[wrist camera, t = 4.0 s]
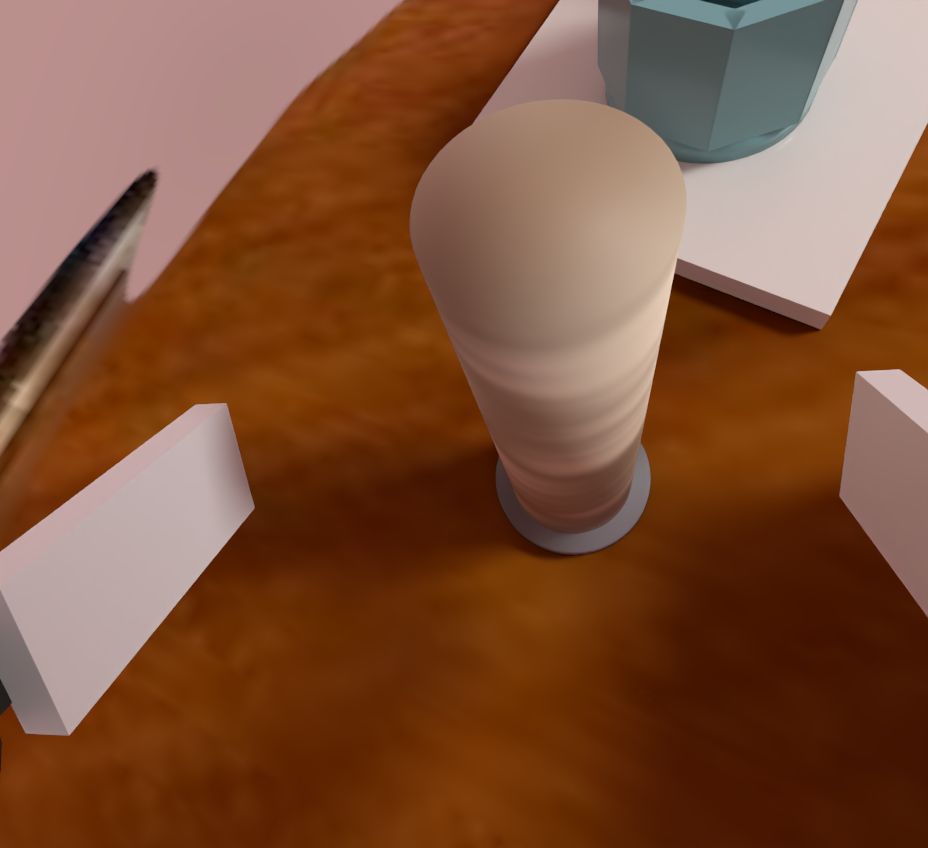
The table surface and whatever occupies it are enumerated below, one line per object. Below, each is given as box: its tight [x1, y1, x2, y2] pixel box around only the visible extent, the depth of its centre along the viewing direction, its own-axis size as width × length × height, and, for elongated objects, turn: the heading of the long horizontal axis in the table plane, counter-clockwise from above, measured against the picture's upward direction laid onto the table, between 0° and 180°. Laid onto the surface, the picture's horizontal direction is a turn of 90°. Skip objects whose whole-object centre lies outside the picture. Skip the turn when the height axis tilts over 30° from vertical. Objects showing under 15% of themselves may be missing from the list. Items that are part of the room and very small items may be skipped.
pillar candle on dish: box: [410, 99, 687, 555], centre depth 16 cm, size 5×5×15 cm
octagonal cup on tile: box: [473, 0, 928, 330], centre depth 24 cm, size 16×16×7 cm
